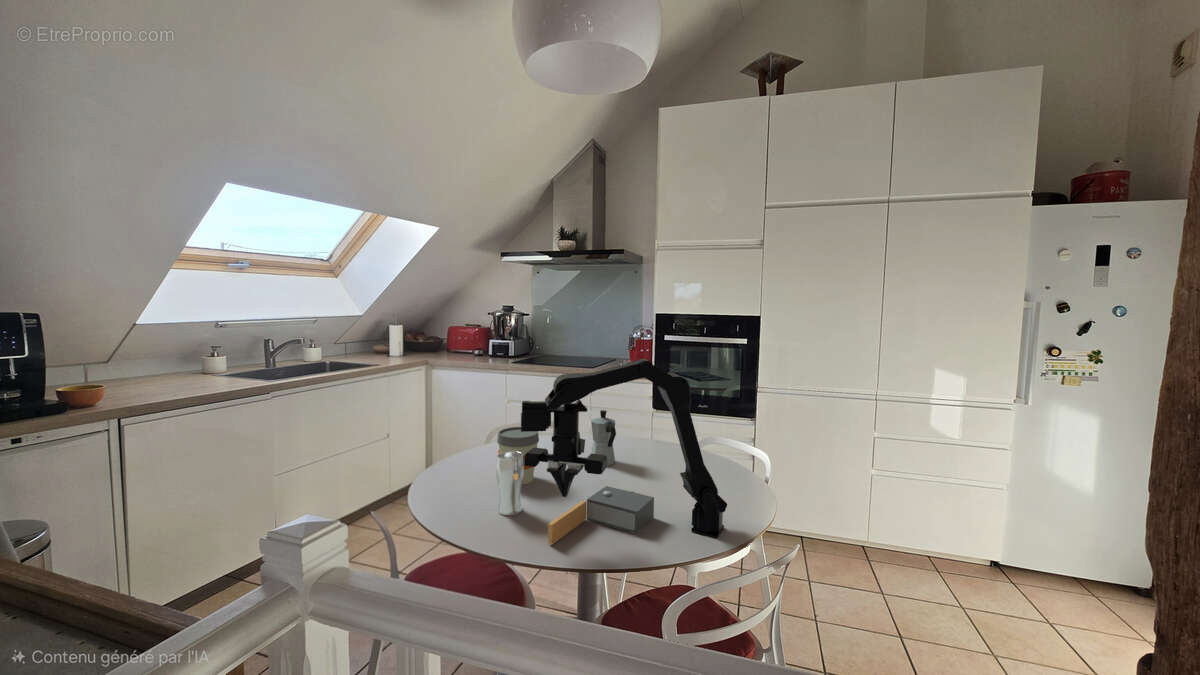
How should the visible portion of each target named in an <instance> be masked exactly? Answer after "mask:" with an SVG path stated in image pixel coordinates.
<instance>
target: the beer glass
mask: <svg viewBox="0 0 1200 675" xmlns="http://www.w3.org/2000/svg"><path fill="white" fill-rule="evenodd" d="M496 457H497V459H496V480H497V481H496V482H497V486H498V493H499V505H498V513H499V514H500V515H502V516H507V517H509V516H516V515H519V514H520V513H521V512H522V510H523V507H522V503H521V492H522V487H523V485H522V482H523V472H524V467H523V454H522V453H520V452H516V451H507V452H502V453H500V454H497V456H496Z"/></svg>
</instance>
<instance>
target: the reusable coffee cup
mask: <svg viewBox="0 0 1200 675" xmlns="http://www.w3.org/2000/svg"><path fill="white" fill-rule="evenodd" d="M539 439H540V438H539V431H532V432H521V426H513V427H505V428H502V429H500V430H499V431H498V432H497V444H498V451H497V453H498V454H500V453H502V452H507V451H516V452H520V453H522V454H523V458H524V455H525V454H526V453H527V452H528V451H530V450H531V449H532V448H538V443H539V442H540V440H539ZM498 454H497V455H498ZM523 467H524V472H523V482H522V486H524V484H525V485H528V484H530V483H532V482H533V481H532V480H534V472H535V467H530V466H524V465H523ZM531 481H532V482H531ZM527 483H528V484H527Z"/></svg>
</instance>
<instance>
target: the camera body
mask: <svg viewBox="0 0 1200 675" xmlns="http://www.w3.org/2000/svg"><path fill="white" fill-rule="evenodd" d="M654 508H655V497H654V496H651V495H647V494H642V493H637V492H635V491H629V490H624V489H620V488H616V487H613V486H608V485H606V486H604V487H602V488H601V489H600V490H597V492H595V493H594V494H592V495H591V496H589V497H588V498H587V499H586V520H587V521H590V522H592V523H597V524H600V525H604V526H607V527H610V528H615V529H618V530H620V531H621V530H622V531H625V532H629V533H632V534H636V535H637V534H639V532H640V531H642V529H644V528H645V527H647V525H648V524H649V523H650V522H651V521H652V520H653V519H654V516H655V514H654V511H655V509H654Z"/></svg>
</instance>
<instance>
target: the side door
mask: <svg viewBox="0 0 1200 675" xmlns="http://www.w3.org/2000/svg"><path fill="white" fill-rule="evenodd" d="M585 520H587V500H582V501H580V502H578V503H577V504H575V505H574V506H573V507H571V508H570V509H568V510H567V511H565V512H564V513H562V514H561V515H560V516H558V517H557V518H555V519H553V520H552V521H550V522H549V523H548V524H547V538H548V542H547V543H548V545H554V544H555V543H556V542H558V541H559V540H560V539H561V538H563V537H564V536H565V535H567V534H568V533H569V532H571V531H572V530H573V529H575V528H577V526H579V525H580V524H582V523H583V522H584V521H585Z"/></svg>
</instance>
